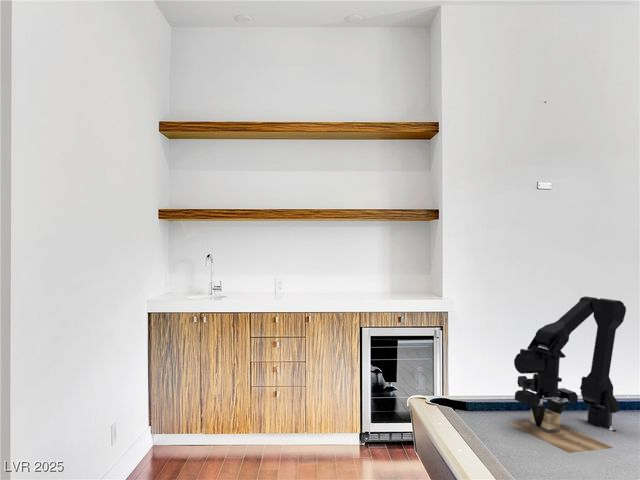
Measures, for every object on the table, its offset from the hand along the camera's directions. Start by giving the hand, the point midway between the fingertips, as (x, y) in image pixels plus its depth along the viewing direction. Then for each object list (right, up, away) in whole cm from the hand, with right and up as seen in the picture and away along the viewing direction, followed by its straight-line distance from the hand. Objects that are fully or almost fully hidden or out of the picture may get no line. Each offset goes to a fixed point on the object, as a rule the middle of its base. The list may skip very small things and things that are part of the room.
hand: (544, 426), depth 147 cm
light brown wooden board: (+2, -2, -5) cm, 5 cm away
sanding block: (0, -1, 0) cm, 1 cm away
